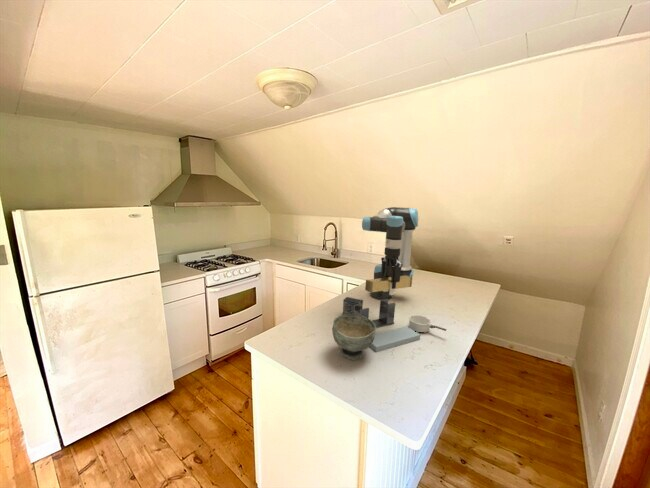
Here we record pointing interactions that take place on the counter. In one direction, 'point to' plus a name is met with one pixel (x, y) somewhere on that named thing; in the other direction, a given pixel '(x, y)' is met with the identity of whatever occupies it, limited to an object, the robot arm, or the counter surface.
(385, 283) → the rail
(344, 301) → the small box
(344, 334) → the bowl
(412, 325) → the saucepan
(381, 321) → the grey metal bracket
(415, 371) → the counter surface
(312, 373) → the counter surface
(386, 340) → the board
